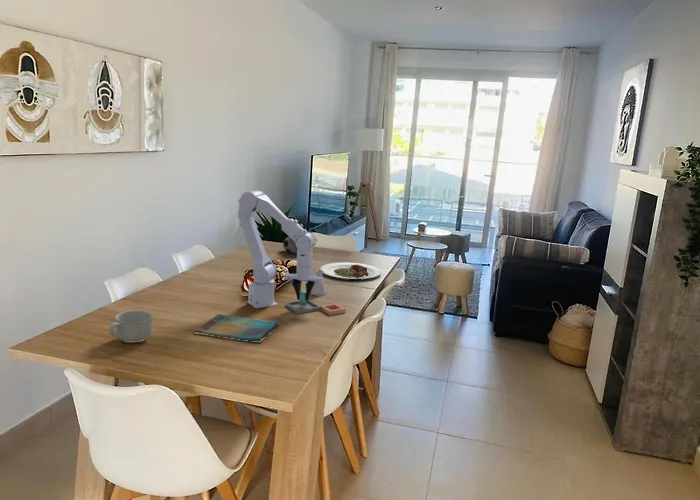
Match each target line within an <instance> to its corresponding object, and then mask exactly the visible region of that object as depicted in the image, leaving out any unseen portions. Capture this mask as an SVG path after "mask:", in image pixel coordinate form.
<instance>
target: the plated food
mask: <svg viewBox="0 0 700 500" xmlns="http://www.w3.org/2000/svg"><path fill="white" fill-rule="evenodd" d="M348 267H349V268H348ZM367 269H368V270H370V271H372V272H374V275H373V276H371V277H366V278H359V277H363V276H364V275H366V276H368V275H369V273H368V272H367ZM319 270H322V271H323V275H326V276H329V277H333V278H337V279H340V278H341V279H340V280H349V279H361V280H368V279H373V278H377V277H379V276H380V275H382V271H381V269H380V268H378V267H376V266H374V265H369V264H366V263H357V262H346V261H345V262H332V263H327V264H324V265H321V266H320V268H319ZM346 277H347V278H346ZM348 277H356V278H348Z"/></svg>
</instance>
